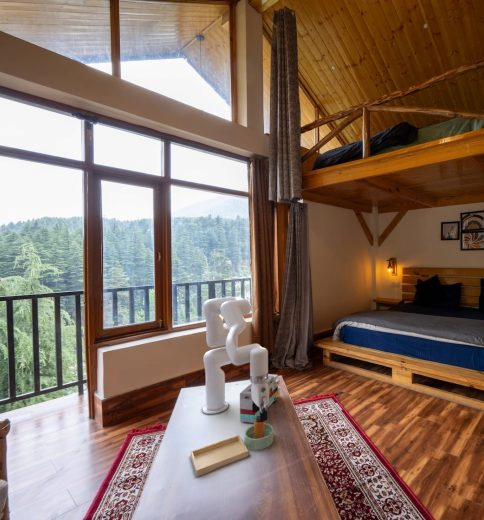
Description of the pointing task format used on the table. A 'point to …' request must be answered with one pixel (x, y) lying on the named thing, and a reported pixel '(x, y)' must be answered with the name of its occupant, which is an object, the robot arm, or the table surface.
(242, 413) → the multicoloured piece
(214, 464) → the tray
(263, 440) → the bowl
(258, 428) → the bottle
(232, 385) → the table surface
